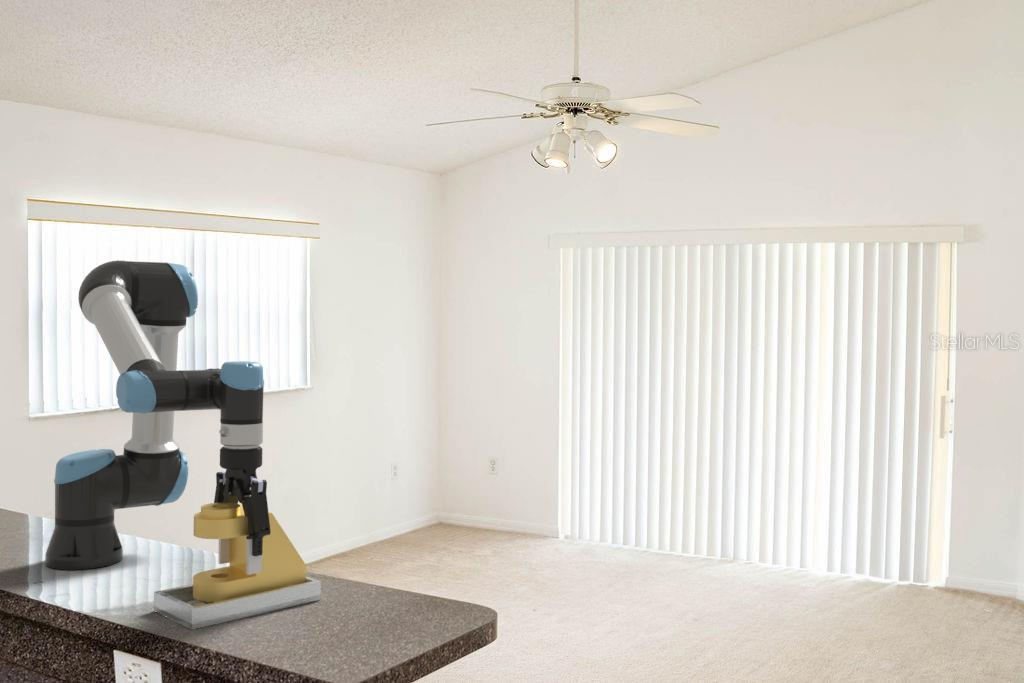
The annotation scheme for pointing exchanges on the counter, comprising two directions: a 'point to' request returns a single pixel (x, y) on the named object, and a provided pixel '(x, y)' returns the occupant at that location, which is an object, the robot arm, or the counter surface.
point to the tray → (230, 604)
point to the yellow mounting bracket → (244, 556)
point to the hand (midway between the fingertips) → (239, 567)
